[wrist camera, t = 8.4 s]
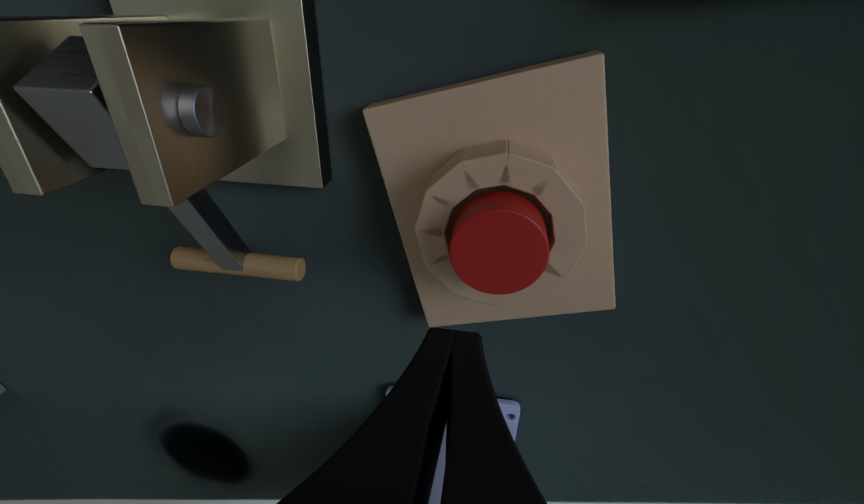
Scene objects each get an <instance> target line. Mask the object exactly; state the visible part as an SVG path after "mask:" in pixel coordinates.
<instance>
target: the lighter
mask: <svg viewBox="0 0 864 504" xmlns="http://www.w3.org/2000/svg"><path fill="white" fill-rule="evenodd" d="M5 391H6V388H5V387H4V386H2V385H1V384H0V395H1V394H2V393H4V392H5Z"/></svg>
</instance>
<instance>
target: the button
mask: <svg viewBox="0 0 864 504" xmlns="http://www.w3.org/2000/svg"><path fill="white" fill-rule="evenodd" d="M549 254H550V250H549V243H548V238H547V233H546V228H545V223H544V220H543V217H542V215H541V213H540V211H539V210H538V209H537V207H536V206H535V205H534V204H533V203H532V202H530V201H529V200H528V199H526V198H524V197H522V196H520V195H518V194H515V193H511V192H505V191H495V192H488V193H484V194H482V195H479V196H477V197H475V198H473V199H472V200H470V201H469V202H468V203H467V204H465V205H464V206H463V208H462V209H461V210H460V212H459V213H458V215H457V217H456V219H455V223H454V227H453V231H452V236H451V240H450V246H449V257H450V261H451V264H452V267H453V269H454V271H455V272H456V274H457V275H458V276H459V278H460V279H461V280H462V281H463V282H465V283H466V284H467V285H469V286H470V287H472V288H474V289H475V290H478V291H480V292H483V293H487V294H493V295H505V294H512V293H515V292H519V291H521V290H523V289H525V288H527V287H529V286H530V285H532V284H533V283H534V282H535V281H536V280H538V278H539V277H540V276H541V275H542V273H543V272H544V270H545V268H546V266H547V264H548V260H549Z"/></svg>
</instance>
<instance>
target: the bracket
mask: <svg viewBox="0 0 864 504" xmlns="http://www.w3.org/2000/svg"><path fill="white" fill-rule="evenodd" d="M109 2H110V5H111V8H112V11H113V14H114V15H76V16H12V17H0V168H1V170H2V172H3V174H4V176H5V178H6V180H7V182H8V184H9V186H10V188H11V190H12V191H13V192H14V193H17V194H29V195H40V196H43V195H46V194H48V193H51V192H53V191H56V190H58V189H61V188H63V187H65V186H68V185H70V184H73V183H75V182H78V181H80V180H83V179H85V178H88V177H90V176H92V175H95V174H97V173H100V172H102V171H105V170H107V169H105V168H92V167H90V166H89V165H88V164H87V163H86V162H85V161H84V160H83V159H82V158H81V157H80V156H79V155H78V154H77V153H76V152H75V151H74V150H73V149H72V148H71V147H70V146H69V145H68V144H67V143H66V142H65V141H64V140H63V139H62V138H61V137H60V136H59V135H58V134H57V133H56V132H55V131H54V130H53V129H52V128H51V127H50V126H49V125H48V124H47V123H46V121H45V120H44V119H43V118H42V117H41V116H40V115H39V114H38V113H37V112H36V111H35V110H34V109H33V108H32V107H31V106H30V105H29V104H28V103H27V102H26V101H25V100H24V99H23V98H22V97H21V96H20V95H19V94H18V93H17V92H16V91H15V90H14V89H13V87H14V85H16V84H17V83H18V82H19V81H20V80H21V79H22V78H23V77H24V76H26V75H27V74H28V73H29V72H30V71H31V70H32V69H33V68H34V67H35V66H37V65H38V64H39V63H40V62H41V61H42V60H43V59H44V58H45V57H47V56H48V55H49V54H50V53H51V52H52V51H53V50H54V49H55V48H56V47H58V46H59V45H60V44H61V43H62V42H63V41H64V40H65V39H66V38H68V37H69V36H83V39H84V42H85V45H86V48H87V50H88V53H89V56H90V59H91V62H92V65H93V68H94V70H95V73H96V76H97V79H98V82H99V85H100V88H101V90H102V93H103V96H104V99H105V102H106V105H107V108H108V111H109V113H110V116H111V119H112V122H113V125H114V128H115V131H116V133H117V136H118V139H119V142H120V145H121V148H122V151H123V153H124V156H125V159H126V162H127V165H128V168H129V171H130V173H131V176H132V179H133V182H134V185H135V188H136V191H137V194H138V196H139V199H140V202H141V204H143V205H153V206H165V207H175V206H177V205H178V204H180V203H181V202H183V201H185V200H186V199H188V198H190V197H191V196H193V195H195V194H196V193H198V192H200V191H201V190H203V189H205V188H206V187H208V186H210V185H211V184H213V183H215V182H216V181H218V180H219V181H232V182H245V183H258V184H271V185H284V186H297V187H310V188H324V187H325V186H326V185H327V184H328V183H329V182H330V181H331V180H332V175H331V165H330V155H329V145H328V135H327V125H326V115H325V105H324V95H323V85H322V75H321V65H320V55H319V45H318V35H317V26H316V16H315V6H314V0H109Z"/></svg>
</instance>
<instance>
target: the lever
mask: <svg viewBox="0 0 864 504" xmlns="http://www.w3.org/2000/svg"><path fill="white" fill-rule="evenodd" d="M13 89H14V90H15V91H16V92H17V93H18V94H19V95H20V96H21V97H22V98H23V99H24V100H25V101H26V102H27V103H28V104H29V105H30V106H31V107H32V108H33V109H34V110H35V111H36V112H37V113H38V114H39V115H40V116H41V117H42V118H43V119H44V120H45V121H46V123H47V124H48V125H49V126H50V127H51V128H52V129H53V130H54V131H55V132H56V133H57V134H58V135H59V136H60V137H61V138H62V139H63V140H64V141H65V142H66V143H67V144H68V145H69V146H70V147H71V148H72V149H73V150H74V151H75V152H76V153H77V154H78V155H79V156H80V157H81V158H82V159H83V160H84V161H85V162H86V163H87V164H88V165H89V166H90V167H92V168H105V169H118V170H129V168H128V165H127V162H126V159H125V156H124V153H123V151H122V148H121V145H120V142H119V139H118V136H117V133H116V131H115V128H114V125H113V122H112V119H111V116H110V113H109V111H108V108H107V105H106V102H105V99H104V96H103V93H102V90H101V88H100V85H99V82H98V79H97V76H96V73H95V70H94V68H93V65H92V62H91V59H90V56H89V53H88V50H87V48H86V45H85V42H84V39H83V36H69V37H68V38H66V39H65V40H64V41H63V42H62V43H61V44H60V45H59V46H58V47H56V48H55V49H54V50H53V51H52V52H51V53H50V54H49V55H48V56H47V57H45V58H44V59H43V60H42V61H41V62H40V63H39V64H38V65H37V66H35V67H34V68H33V69H32V70H31V71H30V72H29V73H28V74H27V75H26V76H24V77H23V78H22V79H21V80H20V81H19V82H18V83H17V84H16V85H14V87H13ZM168 209H169V210H170V211H171V212H172V213H173V214H174V216H175V217H176V218H177V219H178V220H179V221H180V222H181V224H182V225H183V226H184V227H185V228H186V229H187V230H188V232H189V233H190V234H191V235H192V236H193V237H194V238H195V240H196V241H197V242H198V243H199V244H200V245H201V246H202V248H197V247H186V246H178V247H175V248H174V249H173V251H172V252H171V255H170V262H171V265H172V266H173V267H174V268H175V269H181V270H191V271H200V272H210V273H220V274H230V275H239V276H249V277H259V278H269V279H278V280H288V281H301V280H302V279H303V277H304V274H305V269H306V265H305V261H304V259H303V258H301V257H291V256H280V255H270V254H259V253H251V252H250V250H249V249H248V248H247V246H246V245H245V243H244V242H243V241H242V239H241V238H240V236H239V235H238V234H237V232H236V231H235V229H234V228H233V227H232V225H231V224H230V223H229V221H228V220H227V218H226V217H225V216H224V214H223V213H222V211H221V210H220V209H219V207H218V206H217V204H216V203H215V202H214V200H213V199H212V197H211V196H210V195H209V193H208V192H207V190H206V189H203V190H201V191H200V192H198V193H196V194H195V195H193V196H191V197H190V198H188V199H186V200H185V201H183V202H181V203H180V204H178V205H177V206H175V207H168Z"/></svg>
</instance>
